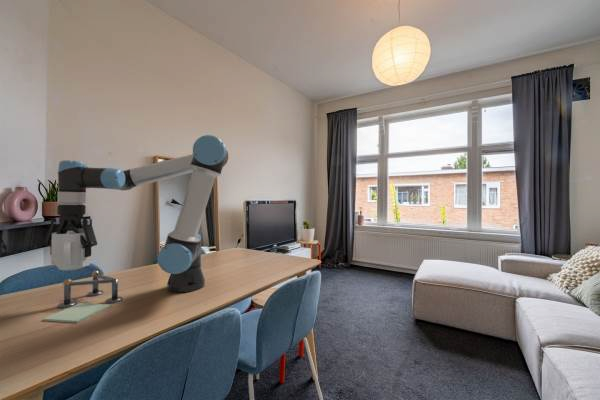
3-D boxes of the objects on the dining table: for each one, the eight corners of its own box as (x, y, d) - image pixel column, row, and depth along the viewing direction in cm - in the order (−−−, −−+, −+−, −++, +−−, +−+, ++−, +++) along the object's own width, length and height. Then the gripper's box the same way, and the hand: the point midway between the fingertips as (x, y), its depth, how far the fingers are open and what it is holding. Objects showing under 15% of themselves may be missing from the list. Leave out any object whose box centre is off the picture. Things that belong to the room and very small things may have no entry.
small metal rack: (135, 293, 101) (136, 270, 101) (100, 310, 85) (100, 283, 85) (95, 291, 103) (95, 268, 103) (53, 307, 87) (53, 280, 87)
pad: (110, 306, 89) (110, 304, 89) (77, 322, 77) (77, 320, 77) (80, 304, 90) (80, 303, 90) (42, 320, 78) (42, 318, 78)
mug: (87, 272, 86) (88, 234, 86) (42, 277, 80) (43, 236, 80) (94, 263, 98) (94, 229, 98) (55, 266, 92) (56, 231, 92)
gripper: (110, 204, 92) (109, 264, 92) (54, 203, 95) (52, 261, 95) (91, 204, 85) (90, 269, 85) (31, 203, 87) (29, 266, 87)
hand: (70, 265), depth 90 cm, fingers closed on mug, 11 cm apart
